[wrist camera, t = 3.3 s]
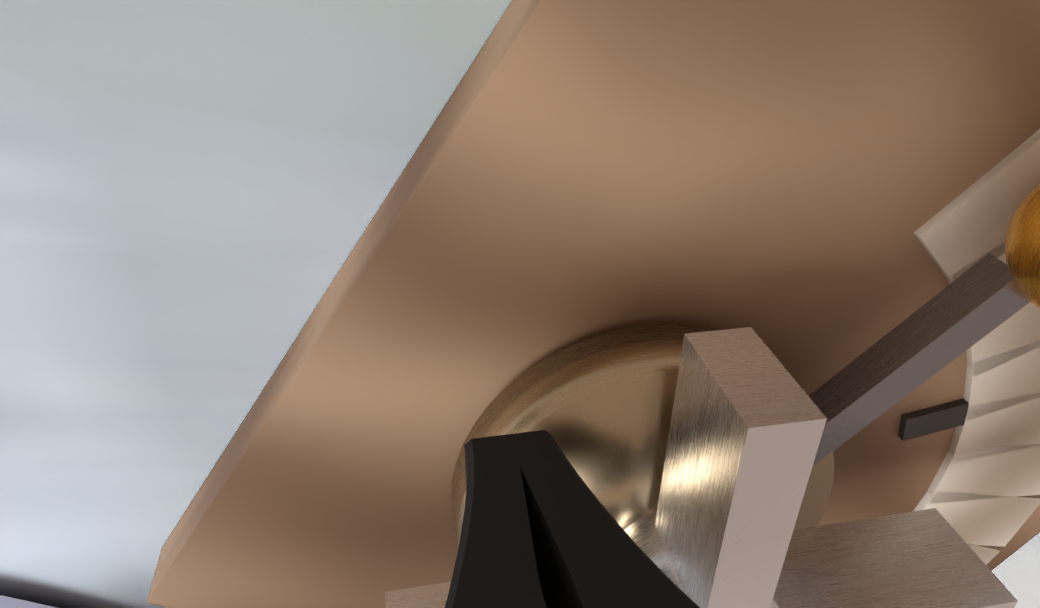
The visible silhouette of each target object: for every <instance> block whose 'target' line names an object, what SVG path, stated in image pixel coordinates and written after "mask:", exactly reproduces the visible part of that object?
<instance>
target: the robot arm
mask: <svg viewBox="0 0 1040 608" xmlns="http://www.w3.org/2000/svg"><path fill="white" fill-rule="evenodd" d="M464 452H465V475H466V500H465V509H464V516H463V523H462V529H461V536H460V542H459V548H458V553H457V558H456V562H455V566H454V571H453V575H452V579H451V584H450V588H449V593H448V597H447V601H446V604H445V608H700V607H699V606H698V605H697V604H696V603H695V602H694V601H693V600H691V599H690V598H689V597H688V596H687V595H686V594H685V593H684V592H683V591H682V590H681V589H680V588H679V587H678V586H677V585H675V584H674V583H673V582H672V581H671V580H670V579H669V578H668V577H667V576H666V575H665V574H664V573H663V572H662V571H661V570H660V569H659V568H658V567H657V565H656V564H655V563H654V562H653V561H652V560H651V559H650V558H649V557H648V556H647V555H646V554H645V553H644V552H643V551H642V550H641V549H640V548H639V547H638V545H637V544H636V543H635V542H634V541H633V540H632V539H631V538H630V537H629V535H628V534H627V533H626V532H625V531H624V530H623V529H622V527H621V526H620V525H619V524H618V523H617V522H616V520H615V519H614V518H613V517H612V516H611V514H610V513H609V512H608V511H607V510H606V509H605V507H604V506H603V505H602V504H601V503H600V501H599V500H598V499H597V498H596V496H595V495H594V494H593V493H592V491H591V490H590V489H589V487H588V486H587V485H586V484H585V482H584V481H583V480H582V478H581V477H580V476H579V474H578V473H577V472H576V470H575V469H574V468H573V466H572V465H571V463H570V462H569V461H568V459H567V458H566V456H565V455H564V453H563V452H562V451H561V449H560V448H559V446H558V445H557V443H556V442H555V440H554V438H553V437H552V435H551V434H550V433H548V432H547V431H546V430H539V431H531V432H523V433H515V434H507V435H498V436H490V437H482V438H474V439H470V440H469V441H468V442H467V443H466V444H465V445H464ZM0 608H58V607H53V606H48V605H44V604H39V603H35V602H30V601H25V600H21V599H16V598H12V597H7V596H3V595H0Z"/></svg>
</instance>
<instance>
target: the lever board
mask: <svg viewBox="0 0 1040 608" xmlns="http://www.w3.org/2000/svg"><path fill="white" fill-rule="evenodd" d="M1039 184H1040V0H512V2H511V3H510V5H509V6H508V8H507V10H506V11H505V13H504V14H503V16H502V17H501V19H500V21H499V22H498V24H497V25H496V27H495V28H494V30H493V31H492V33H491V35H490V36H489V38H488V39H487V41H486V42H485V44H484V46H483V47H482V49H481V50H480V52H479V53H478V55H477V56H476V58H475V60H474V61H473V63H472V64H471V66H470V67H469V69H468V71H467V72H466V74H465V75H464V77H463V78H462V80H461V81H460V83H459V85H458V86H457V88H456V89H455V91H454V92H453V94H452V96H451V97H450V99H449V100H448V102H447V103H446V105H445V106H444V108H443V110H442V111H441V113H440V114H439V116H438V117H437V119H436V121H435V122H434V124H433V125H432V127H431V128H430V130H429V131H428V133H427V135H426V136H425V138H424V139H423V141H422V142H421V144H420V146H419V147H418V149H417V150H416V152H415V153H414V155H413V156H412V158H411V160H410V161H409V163H408V164H407V166H406V167H405V169H404V170H403V172H402V174H401V175H400V177H399V178H398V180H397V181H396V183H395V185H394V186H393V188H392V189H391V191H390V192H389V194H388V195H387V197H386V199H385V200H384V202H383V203H382V205H381V206H380V208H379V210H378V211H377V213H376V214H375V216H374V217H373V219H372V220H371V222H370V224H369V225H368V227H367V228H366V230H365V231H364V233H363V235H362V236H361V238H360V239H359V241H358V242H357V244H356V245H355V247H354V249H353V250H352V252H351V253H350V255H349V256H348V258H347V260H346V261H345V263H344V264H343V266H342V267H341V269H340V270H339V272H338V274H337V275H336V277H335V278H334V280H333V281H332V283H331V285H330V286H329V288H328V289H327V291H326V292H325V294H324V295H323V297H322V299H321V300H320V302H319V303H318V305H317V306H316V308H315V310H314V311H313V313H312V314H311V316H310V317H309V319H308V320H307V322H306V324H305V325H304V327H303V328H302V330H301V331H300V333H299V335H298V336H297V338H296V339H295V341H294V342H293V344H292V345H291V347H290V349H289V350H288V352H287V353H286V355H285V356H284V358H283V360H282V361H281V363H280V364H279V366H278V367H277V369H276V370H275V372H274V374H273V375H272V377H271V378H270V380H269V381H268V383H267V385H266V386H265V388H264V389H263V391H262V392H261V394H260V395H259V397H258V399H257V400H256V402H255V403H254V405H253V406H252V408H251V410H250V411H249V413H248V414H247V416H246V417H245V419H244V420H243V422H242V424H241V425H240V427H239V428H238V430H237V431H236V433H235V435H234V436H233V438H232V439H231V441H230V442H229V444H228V445H227V447H226V449H225V450H224V452H223V453H222V455H221V456H220V458H219V460H218V461H217V463H216V464H215V466H214V467H213V469H212V470H211V472H210V474H209V475H208V477H207V478H206V480H205V481H204V483H203V485H202V486H201V488H200V489H199V491H198V492H197V494H196V495H195V497H194V499H193V500H192V502H191V503H190V505H189V506H188V508H187V510H186V511H185V513H184V514H183V516H182V517H181V519H180V520H179V522H178V524H177V525H176V527H175V528H174V530H173V531H172V533H171V535H170V536H169V538H168V539H167V541H166V542H165V544H164V545H163V547H162V549H161V553H160V556H159V560H158V563H157V567H156V570H155V574H154V578H153V581H152V585H151V588H150V592H149V595H148V599H147V603H150V604H155V605H159V606H163V607H168V608H386V599H385V592H386V591H393V590H399V589H406V588H413V587H419V586H426V585H432V584H439V583H446V582H451V579H452V575H453V571H454V566H455V562H456V558H457V553H458V548H459V546H458V539H457V532H456V525H455V518H454V511H453V505H452V479H453V474H454V469H455V465H456V461H457V458H458V456H459V453H460V451H461V448H462V445H463V443H464V441H465V439H466V438H467V436H468V434H469V432H470V430H471V429H472V427H473V425H474V424H475V422H476V421H477V420H478V418H479V417H480V416H481V414H482V413H483V412H484V410H485V409H486V408H487V406H488V405H489V404H490V403H491V402H492V401H493V400H494V399H495V398H496V397H497V396H498V395H499V394H500V393H501V392H502V391H503V390H504V389H505V388H506V387H507V386H508V385H510V384H511V383H512V382H513V381H515V380H516V379H517V378H518V377H520V376H521V375H522V374H523V373H524V372H526V371H527V370H529V369H530V368H532V367H534V366H535V365H537V364H538V363H540V362H541V361H543V360H544V359H546V358H548V357H549V356H551V355H553V354H555V353H557V352H559V351H561V350H563V349H565V348H567V347H569V346H571V345H574V344H576V343H579V342H582V341H584V340H587V339H590V338H592V337H595V336H598V335H602V334H605V333H609V332H613V331H616V330H620V329H625V328H632V327H638V326H645V325H660V324H680V325H693V326H700V327H705V328H710V329H714V330H726V329H736V328H746V327H751V328H752V329H753V330H754V331H755V332H756V334H757V335H758V336H759V337H760V338H761V340H762V341H763V342H764V343H765V344H766V346H767V347H768V348H769V349H770V350H771V352H772V353H773V354H774V355H775V356H776V358H777V359H778V360H779V361H780V363H781V364H782V365H783V366H784V367H785V369H786V370H787V371H788V372H789V373H790V375H791V376H792V377H793V378H794V379H795V381H796V382H797V383H798V384H799V385H800V387H801V388H802V389H803V390H804V391H805V393H806V394H807V395H808V396H809V395H810V394H811V393H813V392H814V391H815V390H816V389H818V388H819V387H820V386H821V385H823V384H824V383H825V382H827V381H828V380H829V379H830V378H832V377H833V376H834V375H835V374H837V373H838V372H839V371H840V370H842V369H843V368H844V367H846V366H847V365H848V364H849V363H851V362H852V361H853V360H854V359H856V358H857V357H858V356H859V355H861V354H862V353H863V352H865V351H866V350H867V349H868V348H870V347H871V346H872V345H873V344H875V343H876V342H877V341H878V340H880V339H881V338H882V337H884V336H885V335H886V334H887V333H889V332H890V331H891V330H892V329H894V328H895V327H896V326H897V325H899V324H900V323H901V322H903V321H904V320H905V319H906V318H908V317H909V316H910V315H911V314H913V313H914V312H915V311H917V310H918V309H919V308H920V307H922V306H923V305H924V304H925V303H927V302H928V301H929V300H930V299H932V298H933V297H934V296H936V295H937V294H938V293H939V292H941V291H942V290H943V289H944V288H946V287H947V286H948V285H949V284H951V283H952V282H953V281H955V280H956V279H957V278H958V277H960V276H961V275H962V274H963V273H965V272H966V271H967V270H968V269H970V268H971V267H972V266H974V265H975V264H976V263H977V262H979V261H980V260H981V259H982V258H984V257H985V256H986V255H987V254H989V253H990V254H991V255H993V256H995V257H996V258H998V259H999V260H1001V261H1002V262H1004V263H1006V257H1005V238H1006V233H1007V229H1008V226H1009V223H1010V221H1011V218H1012V216H1013V214H1014V212H1015V211H1016V209H1017V207H1018V206H1019V204H1020V203H1021V202H1022V200H1023V199H1024V198H1025V197H1026V196H1027V195H1028V194H1029V193H1030V192H1031V191H1032V190H1033V189H1034V188H1035V187H1036V186H1038V185H1039ZM1006 264H1007V263H1006ZM833 456H834V465H835V467H834V480H833V486H832V490H831V494H830V498H829V501H828V504H827V506H826V509H825V511H824V514H823V516H822V518H821V520H820V522H819V524H818V525H817V526H821V525H827V524H834V523H840V522H847V521H853V520H860V519H867V518H873V517H880V516H886V515H893V514H899V513H906V512H913V511H919V510H926V509H932V508H936V509H937V510H938V511H939V513H940V514H941V515H942V516H943V517H944V518H945V519H946V521H947V522H948V523H949V524H950V525H951V526H952V527H953V528H954V530H955V531H956V532H957V533H958V534H959V535H960V536H961V538H962V539H963V540H964V541H965V542H966V543H967V544H968V545H969V547H970V548H971V549H972V550H973V551H974V552H975V553H976V555H977V556H978V557H979V558H980V559H981V560H982V561H983V562H984V564H985V565H986V566H987V567H988V568H989V569H990V570H993V569H994V568H995V567H996V566H998V565H999V564H1000V563H1002V562H1003V561H1004V560H1005V559H1007V558H1008V557H1009V556H1010V555H1012V554H1013V553H1014V552H1015V551H1017V550H1018V549H1019V548H1020V547H1022V546H1023V545H1024V544H1025V543H1027V542H1028V541H1029V540H1030V539H1032V538H1033V537H1034V536H1036V535H1037V534H1038V533H1039V532H1040V309H1039V308H1037V307H1036V306H1035V305H1034V304H1032V303H1031V302H1030V303H1028V304H1027V305H1026V306H1024V307H1023V308H1022V309H1020V310H1019V311H1018V312H1016V313H1015V314H1014V315H1012V316H1011V317H1010V318H1009V319H1007V320H1006V321H1005V322H1003V323H1002V324H1001V325H999V326H998V327H997V328H995V329H994V330H993V331H991V332H990V333H989V334H987V335H986V336H985V337H983V338H982V339H981V340H979V341H978V342H977V343H975V344H974V345H973V346H972V347H970V348H969V349H968V350H966V351H965V352H964V353H962V354H961V355H960V356H958V357H957V358H956V359H954V360H953V361H952V362H950V363H949V364H948V365H946V366H945V367H944V368H942V369H941V370H940V371H938V372H937V373H936V374H935V375H933V376H932V377H931V378H929V379H928V380H927V381H925V382H924V383H923V384H921V385H920V386H919V387H917V388H916V389H915V390H913V391H912V392H911V393H909V394H908V395H907V396H905V397H904V398H903V399H901V400H900V401H899V402H898V403H896V404H895V405H894V406H892V407H891V408H890V409H888V410H887V411H886V412H884V413H883V414H882V415H880V416H879V417H878V418H876V419H875V420H874V421H872V422H871V423H870V424H868V425H867V426H866V427H864V428H863V429H862V430H861V431H859V432H858V433H857V434H855V435H854V436H853V437H851V438H850V439H849V440H847V441H846V442H845V443H843V444H842V445H841V446H839V447H838V448H837V449H835V450H834V451H833Z"/></svg>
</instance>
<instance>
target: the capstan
mask: <svg viewBox="0 0 1040 608" xmlns="http://www.w3.org/2000/svg"><path fill="white" fill-rule="evenodd" d="M1005 257H1006V263H1007V264H1006V263H1004V262H1002V261H1001V260H999V259H998V258H996V257H995V256H993V255H991V254H990V253H989V254H987V255H986V256H985V257H984V258H982V259H981V260H980V261H979V262H977V263H976V264H975V265H974V266H972V267H971V268H970V269H968V270H967V271H966V272H965V273H963V274H962V275H961V276H960V277H958V278H957V279H956V280H955V281H953V282H952V283H951V284H949V285H948V286H947V287H946V288H944V289H943V290H942V291H941V292H939V293H938V294H937V295H936V296H934V297H933V298H932V299H930V300H929V301H928V302H927V303H925V304H924V305H923V306H922V307H920V308H919V309H918V310H917V311H915V312H914V313H913V314H911V315H910V316H909V317H908V318H906V319H905V320H904V321H903V322H901V323H900V324H899V325H897V326H896V327H895V328H894V329H892V330H891V331H890V332H889V333H887V334H886V335H885V336H884V337H882V338H881V339H880V340H878V341H877V342H876V343H875V344H873V345H872V346H871V347H870V348H868V349H867V350H866V351H865V352H863V353H862V354H861V355H859V356H858V357H857V358H856V359H854V360H853V361H852V362H851V363H849V364H848V365H847V366H846V367H844V368H843V369H842V370H840V371H839V372H838V373H837V374H835V375H834V376H833V377H832V378H830V379H829V380H828V381H827V382H825V383H824V384H823V385H821V386H820V387H819V388H818V389H816V390H815V391H814V392H813V393H811V394H810V395H809V396H808V395H807V394H806V393H805V391H804V390H803V389H802V388H801V387H800V385H799V384H798V383H797V382H796V381H795V379H794V378H793V377H792V376H791V375H790V373H789V372H788V371H787V370H786V369H785V367H784V366H783V365H782V364H781V363H780V361H779V360H778V359H777V358H776V356H775V355H774V354H773V353H772V352H771V350H770V349H769V348H768V347H767V346H766V344H765V343H764V342H763V341H762V340H761V338H760V337H759V336H758V335H757V334H756V332H755V331H754V330H753V329H752V328H751V327H746V328H736V329H726V330H714V329H710V328H705V327H700V326H693V325H680V324H660V325H645V326H638V327H632V328H625V329H620V330H616V331H613V332H609V333H605V334H602V335H598V336H595V337H592V338H590V339H587V340H584V341H582V342H579V343H576V344H574V345H571V346H569V347H567V348H565V349H563V350H561V351H559V352H557V353H555V354H553V355H551V356H549V357H548V358H546V359H544V360H543V361H541V362H540V363H538V364H537V365H535V366H534V367H532V368H530V369H529V370H527V371H526V372H524V373H523V374H522V375H521V376H520V377H518V378H517V379H516V380H515V381H513V382H512V383H511V384H510V385H508V386H507V387H506V388H505V389H504V390H503V391H502V392H501V393H500V394H499V395H498V396H497V397H496V398H495V399H494V400H493V401H492V402H491V403H490V404H489V405H488V406H487V408H486V409H485V410H484V412H483V413H482V414H481V416H480V417H479V418H478V420H477V421H476V422H475V424H474V425H473V427H472V429H471V430H470V432H469V434H468V436H467V438H466V439H465V441H464V443H463V445H462V448H461V451H460V453H459V456H458V458H457V461H456V465H455V469H454V474H453V479H452V505H453V511H454V518H455V525H456V532H457V539H458V546H459V542H460V536H461V529H462V523H463V516H464V509H465V500H466V475H465V452H464V445H465V444H466V443H467V442H468V441H469V440H470V439H474V438H482V437H490V436H498V435H507V434H515V433H523V432H531V431H539V430H546V431H547V432H548V433H550V434H551V435H552V437H553V438H554V440H555V442H556V443H557V445H558V446H559V448H560V449H561V451H562V452H563V453H564V455H565V456H566V458H567V459H568V461H569V462H570V463H571V465H572V466H573V468H574V469H575V470H576V472H577V473H578V474H579V476H580V477H581V478H582V480H583V481H584V482H585V484H586V485H587V486H588V487H589V489H590V490H591V491H592V493H593V494H594V495H595V496H596V498H597V499H598V500H599V501H600V503H601V504H602V505H603V506H604V507H605V509H606V510H607V511H608V512H609V513H610V514H611V516H612V517H613V518H614V519H615V520H616V522H617V523H618V524H619V525H620V526H621V527H622V529H623V530H624V531H625V532H626V533H627V534H628V535H629V537H630V538H631V539H632V540H633V541H634V542H635V543H636V544H637V545H638V547H639V548H640V549H641V550H642V551H643V552H644V553H645V554H646V555H647V556H648V557H649V558H650V559H651V560H652V561H653V562H654V563H655V564H656V565H657V567H658V568H659V569H660V570H661V571H662V572H663V573H664V574H665V575H666V576H667V577H668V578H669V579H670V580H671V581H672V582H673V583H674V584H675V585H677V586H678V587H679V588H680V589H681V590H682V591H683V592H684V593H685V594H686V595H687V596H688V597H689V598H690V599H691V600H693V601H694V602H695V603H696V604H697V605H698V606H699V607H700V608H1014V606H1015V605H1016V603H1017V600H1016V599H1015V598H1014V596H1013V595H1012V594H1011V593H1010V592H1009V591H1008V590H1007V589H1006V587H1005V586H1004V585H1003V584H1002V583H1001V582H1000V581H999V579H998V578H997V577H996V576H995V575H994V574H993V573H992V572H991V570H990V569H989V568H988V567H987V566H986V565H985V564H984V562H983V561H982V560H981V559H980V558H979V557H978V556H977V555H976V553H975V552H974V551H973V550H972V549H971V548H970V547H969V545H968V544H967V543H966V542H965V541H964V540H963V539H962V538H961V536H960V535H959V534H958V533H957V532H956V531H955V530H954V528H953V527H952V526H951V525H950V524H949V523H948V522H947V521H946V519H945V518H944V517H943V516H942V515H941V514H940V513H939V511H938V510H937V509H936V508H932V509H926V510H919V511H913V512H906V513H899V514H893V515H886V516H880V517H873V518H867V519H860V520H853V521H847V522H840V523H834V524H827V525H821V526H817V525H818V524H819V522H820V520H821V518H822V516H823V514H824V511H825V509H826V506H827V504H828V501H829V498H830V494H831V490H832V486H833V480H834V467H835V465H834V456H833V451H834V450H835V449H837V448H838V447H839V446H841V445H842V444H843V443H845V442H846V441H847V440H849V439H850V438H851V437H853V436H854V435H855V434H857V433H858V432H859V431H861V430H862V429H863V428H864V427H866V426H867V425H868V424H870V423H871V422H872V421H874V420H875V419H876V418H878V417H879V416H880V415H882V414H883V413H884V412H886V411H887V410H888V409H890V408H891V407H892V406H894V405H895V404H896V403H898V402H899V401H900V400H901V399H903V398H904V397H905V396H907V395H908V394H909V393H911V392H912V391H913V390H915V389H916V388H917V387H919V386H920V385H921V384H923V383H924V382H925V381H927V380H928V379H929V378H931V377H932V376H933V375H935V374H936V373H937V372H938V371H940V370H941V369H942V368H944V367H945V366H946V365H948V364H949V363H950V362H952V361H953V360H954V359H956V358H957V357H958V356H960V355H961V354H962V353H964V352H965V351H966V350H968V349H969V348H970V347H972V346H973V345H974V344H975V343H977V342H978V341H979V340H981V339H982V338H983V337H985V336H986V335H987V334H989V333H990V332H991V331H993V330H994V329H995V328H997V327H998V326H999V325H1001V324H1002V323H1003V322H1005V321H1006V320H1007V319H1009V318H1010V317H1011V316H1012V315H1014V314H1015V313H1016V312H1018V311H1019V310H1020V309H1022V308H1023V307H1024V306H1026V305H1027V304H1028V303H1030V302H1031V303H1032V304H1034V305H1035V306H1036V307H1037V308H1039V309H1040V184H1039V185H1038V186H1036V187H1035V188H1034V189H1033V190H1032V191H1031V192H1030V193H1029V194H1028V195H1027V196H1026V197H1025V198H1024V199H1023V200H1022V202H1021V203H1020V204H1019V206H1018V207H1017V209H1016V211H1015V212H1014V214H1013V216H1012V218H1011V221H1010V223H1009V226H1008V229H1007V233H1006V238H1005ZM450 584H451V582H446V583H439V584H432V585H426V586H419V587H413V588H406V589H399V590H393V591H386V592H385V599H386V608H445V604H446V601H447V597H448V593H449V588H450Z"/></svg>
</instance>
